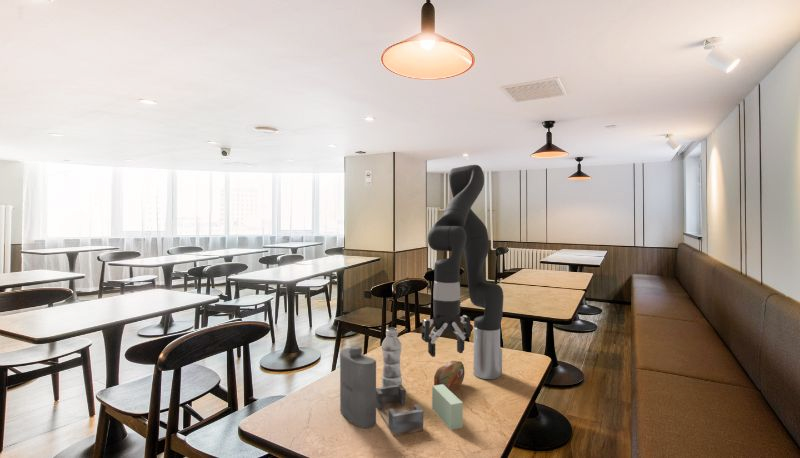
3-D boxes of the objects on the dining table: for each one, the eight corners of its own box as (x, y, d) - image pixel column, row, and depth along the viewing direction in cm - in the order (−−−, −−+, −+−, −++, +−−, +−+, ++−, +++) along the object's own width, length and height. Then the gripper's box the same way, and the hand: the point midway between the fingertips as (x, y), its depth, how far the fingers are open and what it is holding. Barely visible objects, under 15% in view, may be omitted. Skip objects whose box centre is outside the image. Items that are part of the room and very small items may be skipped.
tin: (440, 398, 120) (440, 372, 120) (432, 395, 122) (432, 369, 122) (465, 383, 132) (465, 358, 132) (457, 380, 134) (457, 356, 134)
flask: (334, 409, 114) (334, 342, 113) (352, 403, 117) (351, 338, 116) (361, 432, 102) (361, 357, 101) (379, 425, 105) (379, 352, 105)
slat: (442, 407, 115) (443, 384, 115) (462, 428, 104) (462, 402, 104) (432, 409, 114) (432, 385, 114) (450, 430, 103) (451, 404, 103)
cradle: (401, 400, 119) (401, 384, 119) (423, 430, 103) (423, 411, 102) (374, 405, 116) (374, 388, 116) (393, 436, 100) (393, 416, 100)
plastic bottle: (399, 394, 123) (400, 332, 122) (379, 392, 124) (379, 331, 124) (403, 386, 129) (403, 327, 129) (384, 384, 131) (384, 325, 130)
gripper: (462, 292, 114) (462, 347, 114) (418, 296, 109) (417, 352, 110) (475, 298, 107) (475, 355, 107) (428, 301, 102) (428, 362, 103)
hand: (446, 354), depth 109 cm, fingers open, 8 cm apart
